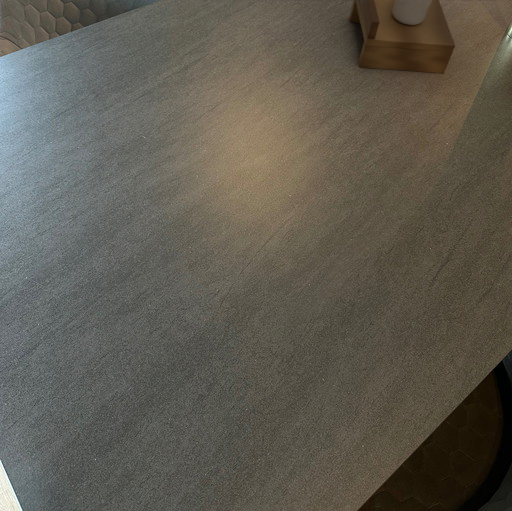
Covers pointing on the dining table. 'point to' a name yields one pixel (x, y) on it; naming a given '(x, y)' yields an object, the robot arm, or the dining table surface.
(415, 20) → the drinking glass
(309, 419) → the dining table surface
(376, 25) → the tan wooden box
